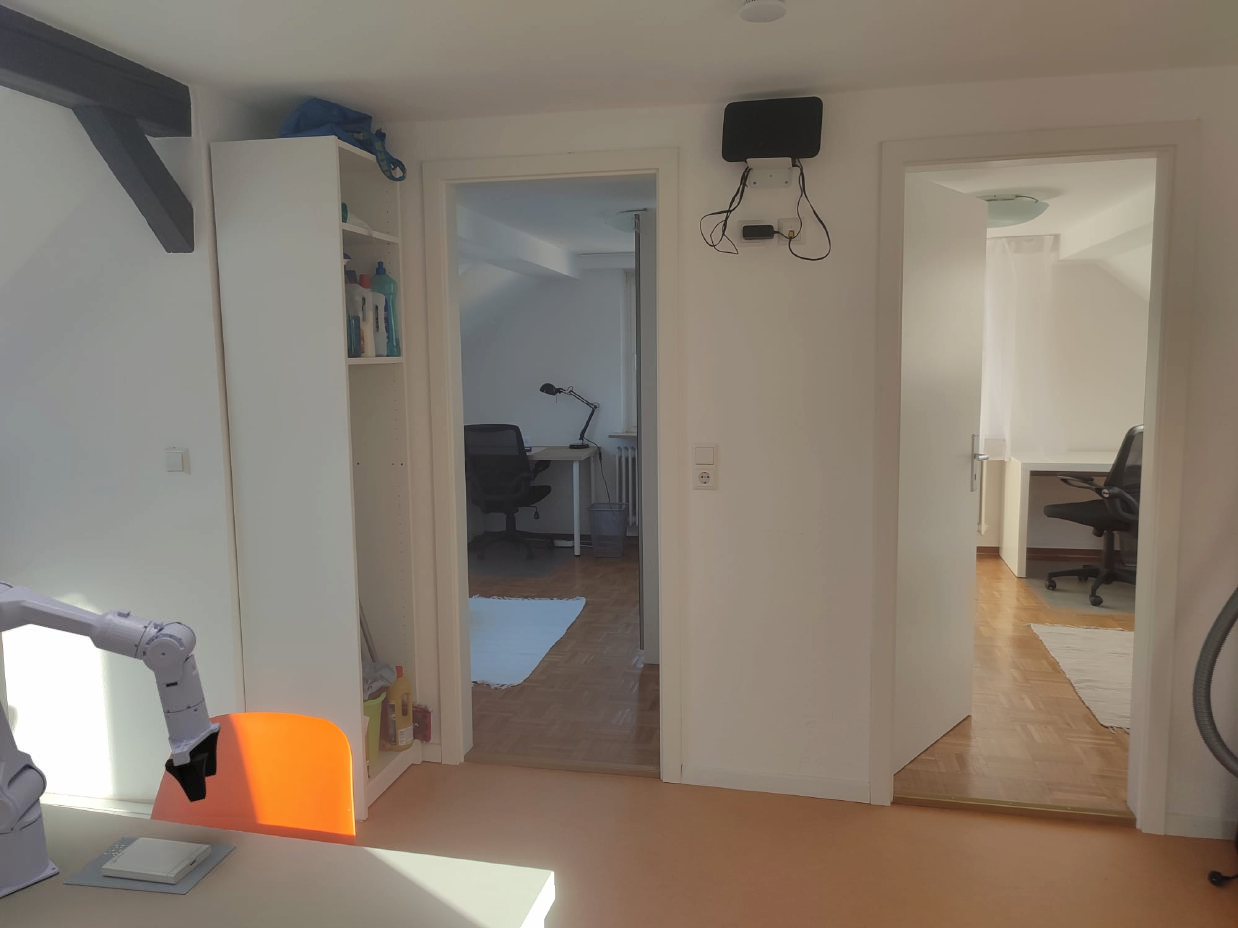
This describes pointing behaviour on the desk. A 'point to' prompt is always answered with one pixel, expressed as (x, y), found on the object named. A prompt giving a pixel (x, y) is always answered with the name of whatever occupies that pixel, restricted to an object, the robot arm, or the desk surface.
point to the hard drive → (157, 860)
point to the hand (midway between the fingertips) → (203, 787)
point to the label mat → (94, 877)
